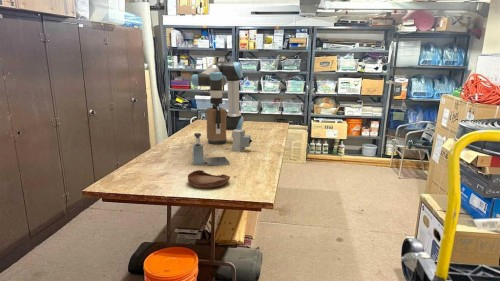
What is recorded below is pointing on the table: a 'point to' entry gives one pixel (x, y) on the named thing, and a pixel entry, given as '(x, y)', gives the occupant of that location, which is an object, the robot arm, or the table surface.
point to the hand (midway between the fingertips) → (216, 131)
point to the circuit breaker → (240, 140)
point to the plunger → (197, 138)
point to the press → (209, 161)
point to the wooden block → (212, 126)
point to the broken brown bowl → (206, 179)
